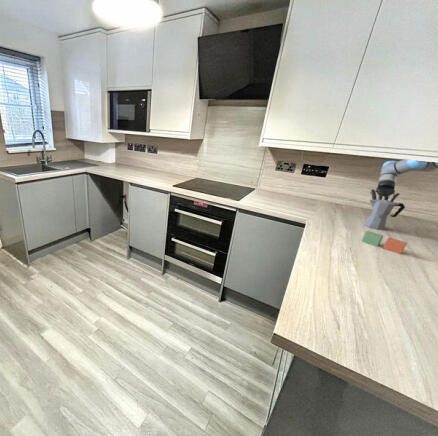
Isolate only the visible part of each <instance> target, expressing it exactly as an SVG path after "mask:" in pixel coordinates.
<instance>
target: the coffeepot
mask: <svg viewBox="0 0 438 436" xmlns="http://www.w3.org/2000/svg"><path fill="white" fill-rule="evenodd" d="M389 198H390V196H389V197H385V200H384V199H382V200H378V199H377V200H372V199H370V200H369V202H370V204H371V207H372V208H371V213H370V215H369V216H368V218H367V219H366V221H365V222H364V223H363V225H364V226H365V227H367V228H370V229H374V230H381V231H383V230H385V228H386V224H387V219H388V218H387V217H388V216H389V215H390V217H391V218H396V217H397V216H399V214H400V213H402V211H403V210H404V209H406V206H405V205H404V203H402V202H396V201H395V202H394V201H393V202H391V201H390V200H389ZM395 207H399V208H398V209H397V210H396V211H395V213H394V214H390V213H391V212H392V211H393V209H394V208H395Z"/></svg>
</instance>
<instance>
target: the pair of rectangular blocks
mask: <svg viewBox="0 0 438 436" xmlns="http://www.w3.org/2000/svg"><path fill="white" fill-rule="evenodd" d="M383 238H384V235H383V234H379V233H376V232H372V231H369V230H367V231H365V232H364V234H363V236H362V239H361V242H363V243H366V244H369V245H372V246H374V247H375V246H376V247H378V246H380V244H381V242H382V240H383ZM407 244H408V242H406V241H403V240H399V239H396V238H393V237H388V238H387V239H386V241H385V243H384V245H383V247H382V249H384V250H387V251H389V252H393V253H396V254H399V255H401V254H402V253H403V252H404V250H405V248H406V247H407Z"/></svg>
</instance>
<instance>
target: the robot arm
mask: <svg viewBox="0 0 438 436" xmlns="http://www.w3.org/2000/svg"><path fill="white" fill-rule="evenodd" d="M436 170H438V163H435V162H425V161H416V160H404V159H401V160H399V161H397V160H387V161H386V162H384V163H382V167H381V169H380V174H379V179H378V183H377V187H376V188H375V189H371V190H370V191H369V193H370V194H371V200H385V197H389V198H390V197H391V196H392V198H391V199H390V200H389V201H391V202H394V201H395V200H396V198H398V197H399V196H400V193H399V192H396V190H395V188H396V183H397V179H398V176H399V175H402V174H405V173H408V172H425V173H427V172H428V173H429V172H434V171H436ZM377 195H378V198H377Z"/></svg>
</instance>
